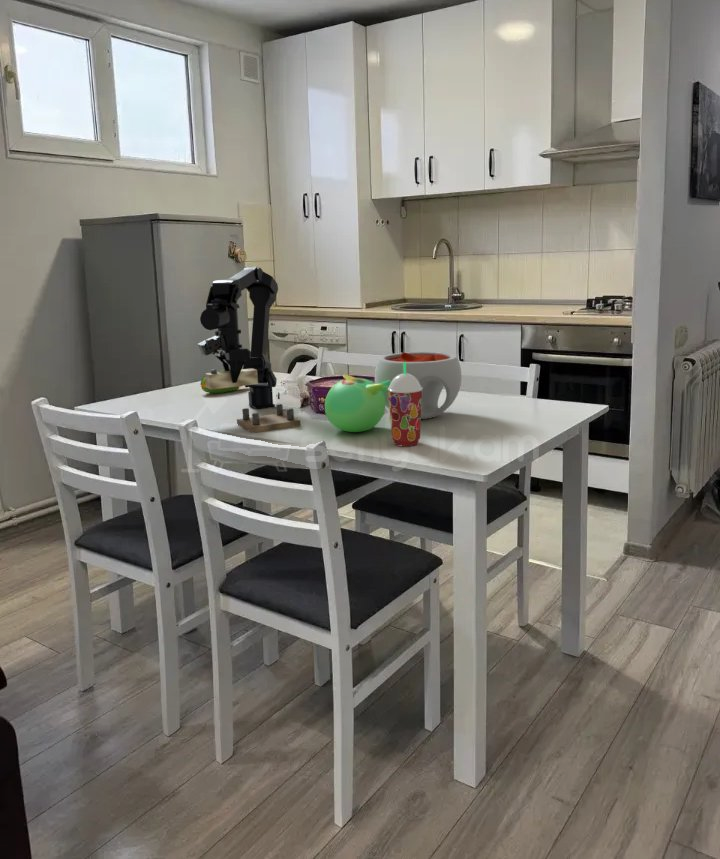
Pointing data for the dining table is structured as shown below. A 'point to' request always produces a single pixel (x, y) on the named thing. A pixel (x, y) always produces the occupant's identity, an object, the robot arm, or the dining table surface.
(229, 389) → the corn
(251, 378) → the wooden block
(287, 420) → the peg rest
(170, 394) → the dining table surface
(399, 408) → the smoothie
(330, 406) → the toy bird
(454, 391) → the pot
